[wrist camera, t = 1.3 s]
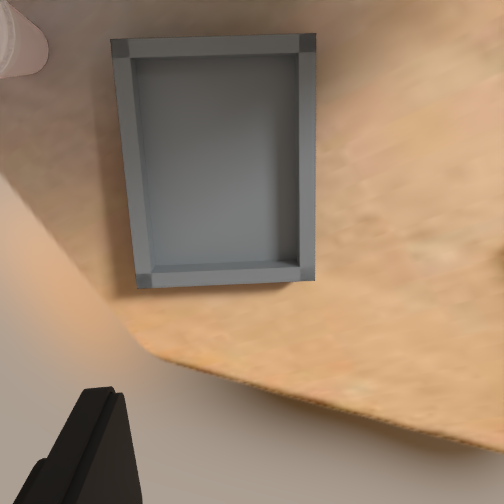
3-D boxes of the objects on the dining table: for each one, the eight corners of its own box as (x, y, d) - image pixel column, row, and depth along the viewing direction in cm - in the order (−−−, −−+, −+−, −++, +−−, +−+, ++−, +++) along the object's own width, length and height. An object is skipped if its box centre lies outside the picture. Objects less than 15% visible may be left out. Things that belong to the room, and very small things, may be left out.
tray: (119, 44, 35) (110, 39, 32) (309, 39, 35) (316, 33, 33) (143, 276, 40) (137, 288, 37) (309, 269, 40) (315, 280, 38)
